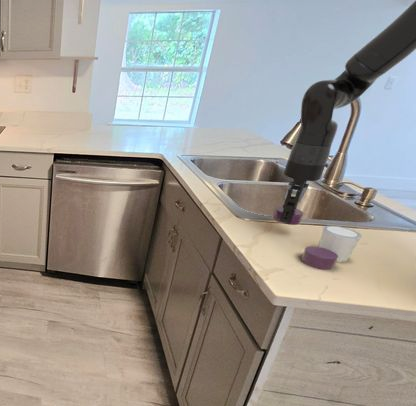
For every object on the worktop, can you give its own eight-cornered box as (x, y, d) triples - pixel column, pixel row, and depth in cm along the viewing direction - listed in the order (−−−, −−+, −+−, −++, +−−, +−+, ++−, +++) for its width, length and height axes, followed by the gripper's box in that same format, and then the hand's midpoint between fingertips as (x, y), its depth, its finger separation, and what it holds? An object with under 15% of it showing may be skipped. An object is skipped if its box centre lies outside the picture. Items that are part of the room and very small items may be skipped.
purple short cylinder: (330, 260, 90) (334, 249, 89) (336, 272, 85) (341, 261, 84) (299, 254, 93) (302, 244, 92) (303, 265, 88) (308, 255, 87)
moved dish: (297, 218, 103) (301, 208, 102) (301, 226, 98) (305, 216, 97) (271, 213, 106) (274, 204, 104) (274, 222, 101) (277, 212, 100)
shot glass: (344, 266, 88) (356, 240, 85) (309, 254, 93) (318, 229, 90) (354, 257, 91) (365, 232, 88) (319, 246, 96) (329, 222, 93)
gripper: (323, 169, 88) (300, 230, 94) (328, 156, 97) (307, 213, 104) (284, 163, 93) (265, 222, 99) (293, 151, 102) (274, 206, 109)
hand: (286, 217), depth 102 cm, fingers closed on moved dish, 6 cm apart
